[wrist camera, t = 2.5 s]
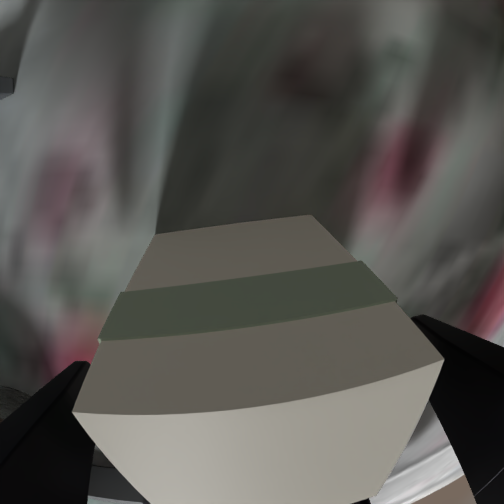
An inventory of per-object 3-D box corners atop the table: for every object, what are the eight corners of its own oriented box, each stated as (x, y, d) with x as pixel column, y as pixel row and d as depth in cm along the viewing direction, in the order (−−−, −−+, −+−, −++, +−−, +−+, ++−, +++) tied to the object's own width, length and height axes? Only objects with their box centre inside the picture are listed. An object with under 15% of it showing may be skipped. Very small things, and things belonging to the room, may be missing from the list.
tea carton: (312, 212, 10) (448, 355, 3) (313, 338, 12) (377, 495, 5) (153, 232, 10) (66, 409, 3) (184, 356, 12) (174, 525, 5)
